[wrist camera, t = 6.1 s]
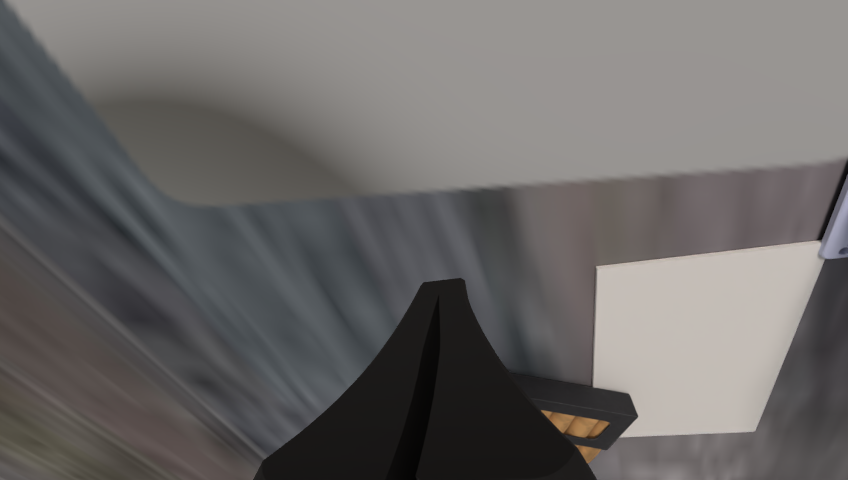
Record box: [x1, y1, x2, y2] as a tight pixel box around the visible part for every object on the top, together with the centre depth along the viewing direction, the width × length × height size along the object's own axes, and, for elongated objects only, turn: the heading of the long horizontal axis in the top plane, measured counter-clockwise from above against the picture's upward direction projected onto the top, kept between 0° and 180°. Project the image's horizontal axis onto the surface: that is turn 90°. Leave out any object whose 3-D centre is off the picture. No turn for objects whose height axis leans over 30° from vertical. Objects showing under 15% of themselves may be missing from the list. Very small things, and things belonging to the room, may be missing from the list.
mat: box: [592, 240, 825, 437], centre depth 26 cm, size 12×18×1 cm
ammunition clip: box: [510, 373, 638, 463], centre depth 30 cm, size 11×2×12 cm
